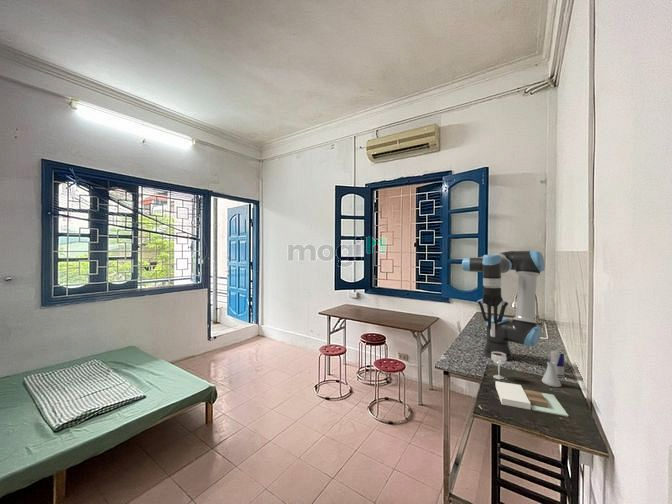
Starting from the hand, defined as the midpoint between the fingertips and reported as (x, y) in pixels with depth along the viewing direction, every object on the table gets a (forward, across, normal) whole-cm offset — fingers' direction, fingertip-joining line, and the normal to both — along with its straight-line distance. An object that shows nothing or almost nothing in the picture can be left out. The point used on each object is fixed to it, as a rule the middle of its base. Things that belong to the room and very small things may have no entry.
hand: (492, 335), depth 127 cm
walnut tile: (+23, +14, -11) cm, 29 cm away
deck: (+23, +5, -10) cm, 26 cm away
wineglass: (+24, +4, +9) cm, 25 cm away
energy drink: (+24, +32, +22) cm, 46 cm away
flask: (+24, +26, +10) cm, 37 cm away
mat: (+23, +16, -11) cm, 30 cm away
